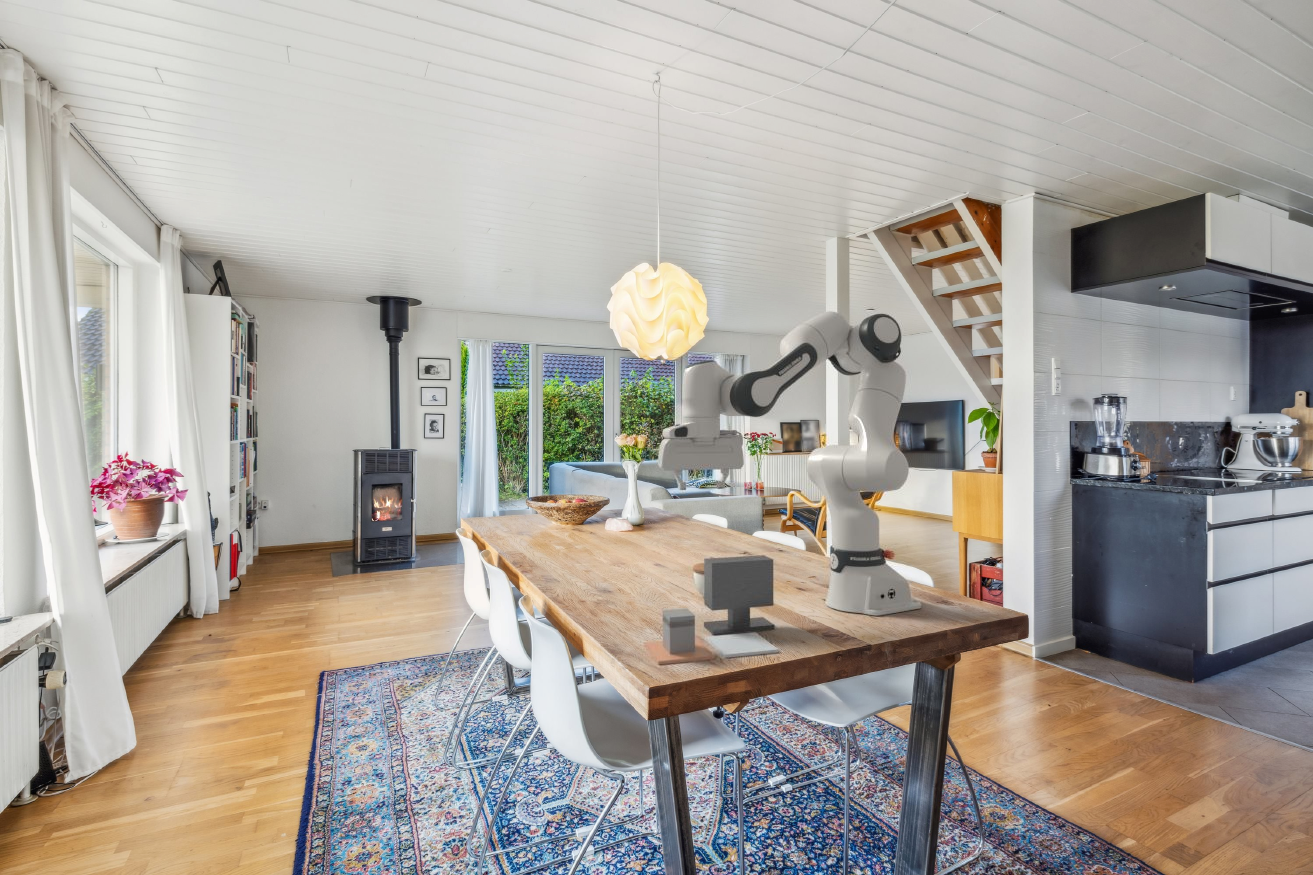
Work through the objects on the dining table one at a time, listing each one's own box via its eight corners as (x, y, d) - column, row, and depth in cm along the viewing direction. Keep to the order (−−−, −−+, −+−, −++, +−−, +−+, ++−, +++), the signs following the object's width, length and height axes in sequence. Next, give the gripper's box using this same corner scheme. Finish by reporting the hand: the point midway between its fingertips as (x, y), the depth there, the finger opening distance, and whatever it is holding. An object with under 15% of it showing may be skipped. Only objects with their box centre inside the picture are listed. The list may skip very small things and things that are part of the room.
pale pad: (755, 635, 137) (755, 632, 137) (778, 652, 127) (778, 649, 127) (705, 639, 135) (705, 636, 135) (724, 657, 124) (724, 654, 124)
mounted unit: (763, 621, 147) (762, 554, 147) (774, 629, 141) (774, 559, 141) (703, 626, 144) (703, 558, 143) (713, 634, 138) (712, 563, 137)
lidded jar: (685, 597, 168) (685, 561, 168) (706, 589, 177) (705, 554, 177) (722, 603, 162) (722, 566, 162) (741, 594, 171) (741, 558, 171)
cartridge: (687, 643, 131) (686, 608, 130) (694, 651, 126) (694, 615, 126) (662, 645, 129) (662, 610, 129) (669, 654, 124) (669, 617, 124)
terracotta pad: (696, 640, 134) (696, 637, 134) (714, 658, 124) (714, 655, 124) (644, 645, 131) (644, 642, 131) (658, 664, 121) (658, 661, 121)
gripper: (737, 429, 159) (738, 486, 159) (656, 430, 154) (656, 489, 154) (747, 429, 153) (748, 489, 153) (663, 430, 148) (663, 491, 148)
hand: (701, 489), depth 153 cm, fingers open, 8 cm apart
